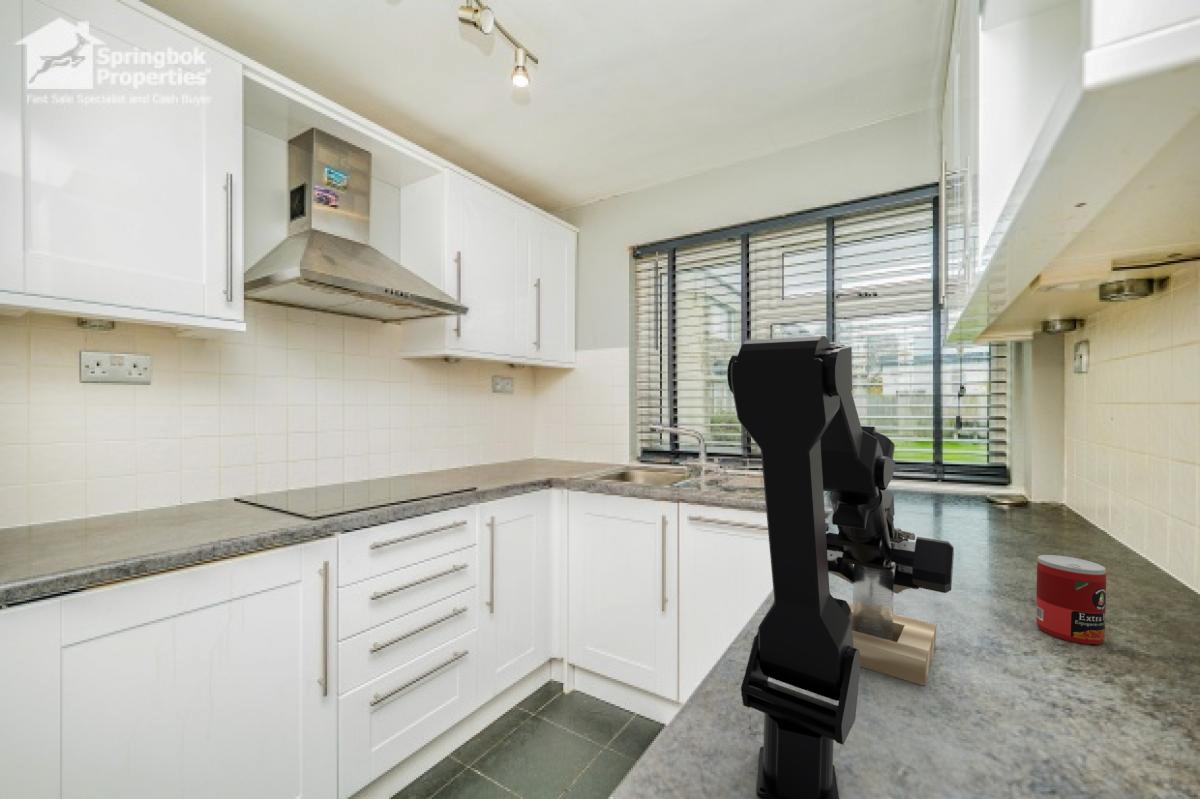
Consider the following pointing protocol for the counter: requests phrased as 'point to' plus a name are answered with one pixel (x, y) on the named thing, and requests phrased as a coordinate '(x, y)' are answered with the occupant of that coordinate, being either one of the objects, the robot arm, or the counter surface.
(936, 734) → the counter surface
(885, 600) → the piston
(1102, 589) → the canned food
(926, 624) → the tan square ring
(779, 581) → the robot arm
